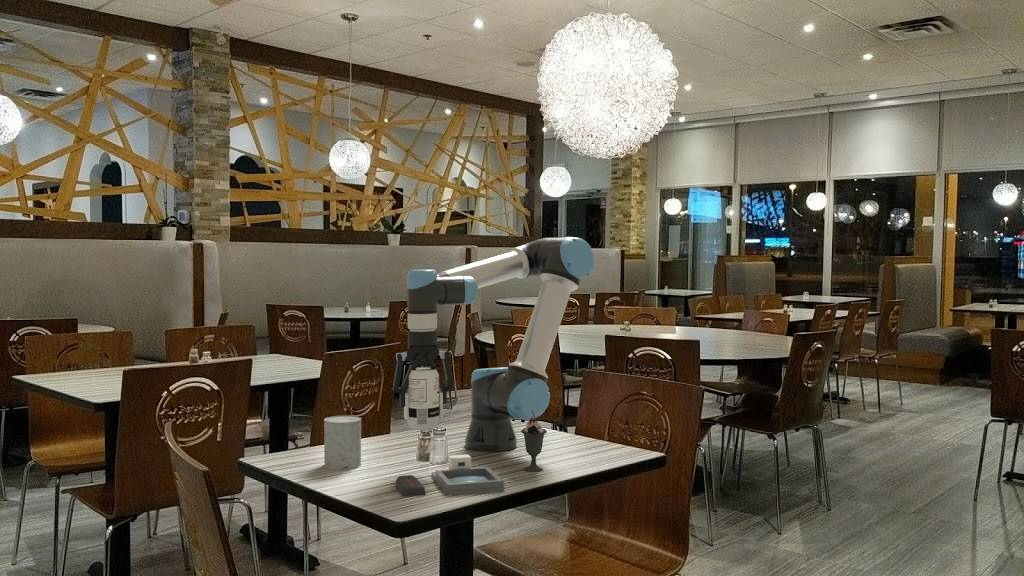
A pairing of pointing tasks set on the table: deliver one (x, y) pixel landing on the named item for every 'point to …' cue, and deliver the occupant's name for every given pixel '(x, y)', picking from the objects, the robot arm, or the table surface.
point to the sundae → (533, 442)
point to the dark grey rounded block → (409, 486)
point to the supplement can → (423, 399)
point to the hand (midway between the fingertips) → (423, 417)
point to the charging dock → (467, 477)
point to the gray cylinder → (342, 442)
